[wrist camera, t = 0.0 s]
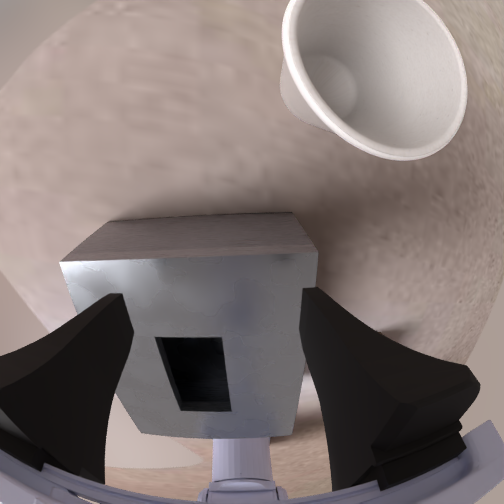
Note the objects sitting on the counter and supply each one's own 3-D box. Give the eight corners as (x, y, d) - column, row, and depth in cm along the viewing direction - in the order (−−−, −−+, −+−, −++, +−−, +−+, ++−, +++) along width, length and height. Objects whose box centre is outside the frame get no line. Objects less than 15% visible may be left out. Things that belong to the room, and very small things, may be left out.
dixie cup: (233, 88, 16) (229, 39, 7) (313, 18, 13) (370, -52, 4) (323, 169, 18) (398, 206, 9) (392, 97, 16) (490, 90, 7)
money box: (282, 380, 27) (291, 434, 20) (153, 381, 26) (141, 433, 20) (292, 212, 19) (318, 252, 13) (107, 222, 19) (59, 262, 13)
